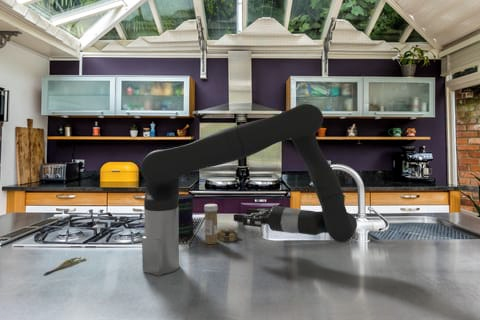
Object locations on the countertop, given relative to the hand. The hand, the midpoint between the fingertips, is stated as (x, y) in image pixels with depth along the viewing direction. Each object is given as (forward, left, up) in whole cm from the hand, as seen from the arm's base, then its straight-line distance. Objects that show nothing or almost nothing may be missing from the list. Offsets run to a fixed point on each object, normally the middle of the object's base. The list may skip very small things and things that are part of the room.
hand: (240, 214), depth 101 cm
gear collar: (+7, +9, -11) cm, 16 cm away
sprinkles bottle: (0, +12, -12) cm, 16 cm away
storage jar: (+1, +27, -12) cm, 29 cm away
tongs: (-37, +37, -12) cm, 54 cm away
